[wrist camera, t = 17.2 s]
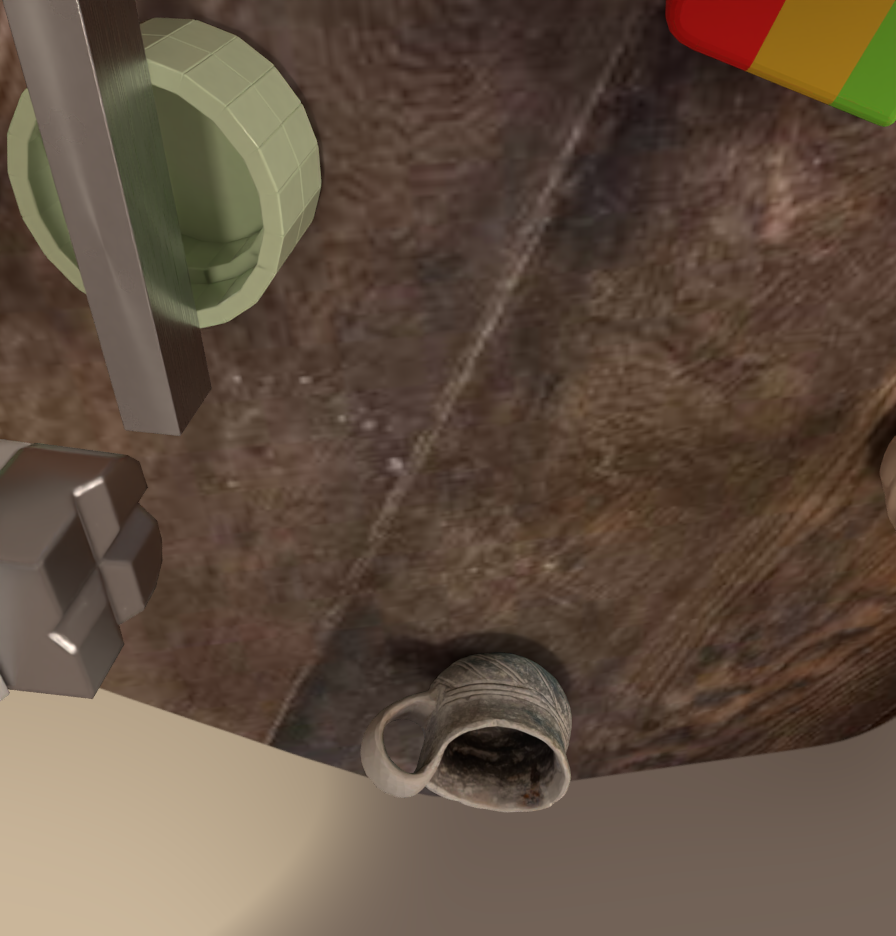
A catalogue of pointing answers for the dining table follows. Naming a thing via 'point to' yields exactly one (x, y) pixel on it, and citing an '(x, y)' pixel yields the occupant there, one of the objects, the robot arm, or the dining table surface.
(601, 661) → the dining table surface
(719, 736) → the dining table surface
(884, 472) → the garlic bulb
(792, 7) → the popsicle
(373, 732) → the mug
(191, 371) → the long grey metal bar
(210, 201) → the bowl
